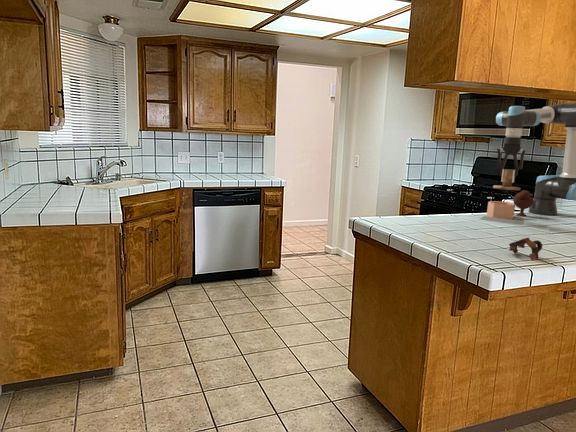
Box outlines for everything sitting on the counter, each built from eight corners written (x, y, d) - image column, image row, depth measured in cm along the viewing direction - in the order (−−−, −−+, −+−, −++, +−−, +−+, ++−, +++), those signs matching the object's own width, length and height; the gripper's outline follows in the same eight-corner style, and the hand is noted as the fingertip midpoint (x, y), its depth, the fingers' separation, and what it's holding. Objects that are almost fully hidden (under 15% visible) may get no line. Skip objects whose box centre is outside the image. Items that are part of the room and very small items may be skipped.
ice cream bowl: (536, 217, 256) (540, 191, 253) (522, 217, 252) (525, 191, 249) (520, 213, 266) (524, 188, 263) (506, 214, 261) (510, 188, 259)
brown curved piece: (527, 262, 160) (517, 241, 162) (509, 266, 169) (500, 246, 170) (553, 253, 163) (543, 231, 165) (535, 257, 172) (525, 237, 174)
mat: (524, 222, 238) (524, 221, 238) (520, 225, 227) (521, 224, 227) (484, 216, 249) (484, 215, 249) (479, 220, 238) (479, 219, 238)
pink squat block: (514, 217, 252) (516, 203, 251) (510, 220, 242) (512, 205, 240) (489, 214, 259) (491, 200, 258) (485, 217, 249) (486, 202, 247)
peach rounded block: (521, 189, 237) (524, 170, 235) (518, 190, 226) (521, 170, 224) (495, 187, 244) (497, 168, 242) (490, 188, 233) (493, 168, 231)
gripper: (493, 136, 232) (488, 181, 236) (531, 137, 222) (525, 184, 227) (496, 136, 238) (490, 180, 242) (533, 137, 228) (526, 183, 233)
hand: (507, 181), depth 234 cm, fingers closed on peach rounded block, 4 cm apart
